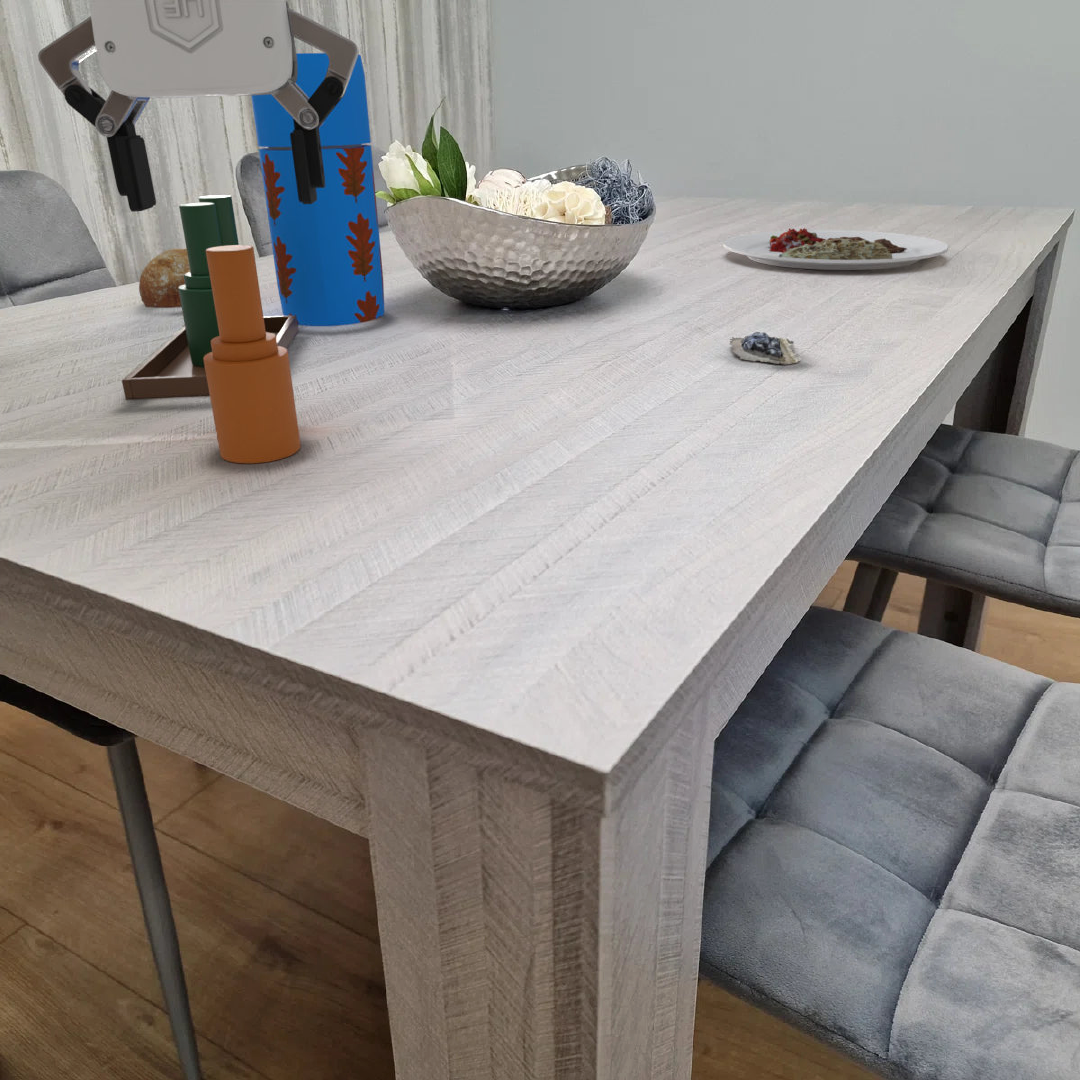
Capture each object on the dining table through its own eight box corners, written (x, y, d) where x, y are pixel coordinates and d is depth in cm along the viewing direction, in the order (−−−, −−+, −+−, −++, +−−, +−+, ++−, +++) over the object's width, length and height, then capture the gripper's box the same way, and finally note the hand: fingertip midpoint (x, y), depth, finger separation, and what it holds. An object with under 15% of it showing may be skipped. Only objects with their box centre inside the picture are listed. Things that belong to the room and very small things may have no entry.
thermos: (263, 321, 100) (225, 58, 89) (347, 306, 106) (321, 59, 96) (321, 336, 93) (286, 52, 82) (407, 318, 99) (385, 54, 89)
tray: (127, 406, 72) (121, 380, 71) (194, 340, 92) (190, 319, 91) (261, 400, 73) (257, 374, 72) (299, 336, 93) (296, 315, 92)
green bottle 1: (203, 349, 86) (177, 200, 81) (215, 337, 91) (191, 194, 85) (261, 347, 87) (239, 198, 81) (270, 334, 91) (250, 193, 86)
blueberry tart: (778, 340, 87) (780, 320, 87) (826, 360, 80) (829, 338, 80) (712, 347, 86) (714, 326, 85) (756, 368, 79) (758, 346, 78)
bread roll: (174, 326, 115) (132, 267, 112) (246, 286, 115) (207, 225, 111) (159, 344, 106) (114, 281, 103) (237, 301, 106) (194, 236, 102)
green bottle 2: (185, 369, 80) (155, 208, 74) (199, 354, 85) (172, 202, 79) (247, 366, 80) (222, 206, 75) (258, 351, 85) (235, 200, 79)
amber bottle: (212, 465, 60) (174, 256, 54) (228, 439, 65) (195, 243, 59) (295, 461, 60) (266, 252, 55) (305, 435, 65) (279, 240, 60)
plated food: (924, 281, 113) (928, 252, 111) (690, 266, 127) (692, 240, 125) (961, 248, 136) (965, 224, 135) (760, 238, 150) (762, 216, 149)
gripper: (-37, -159, 45) (53, 218, 52) (331, -164, 46) (369, 205, 53) (26, -124, 51) (97, 206, 59) (344, -129, 53) (376, 194, 60)
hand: (226, 205), depth 56 cm, fingers open, 9 cm apart
